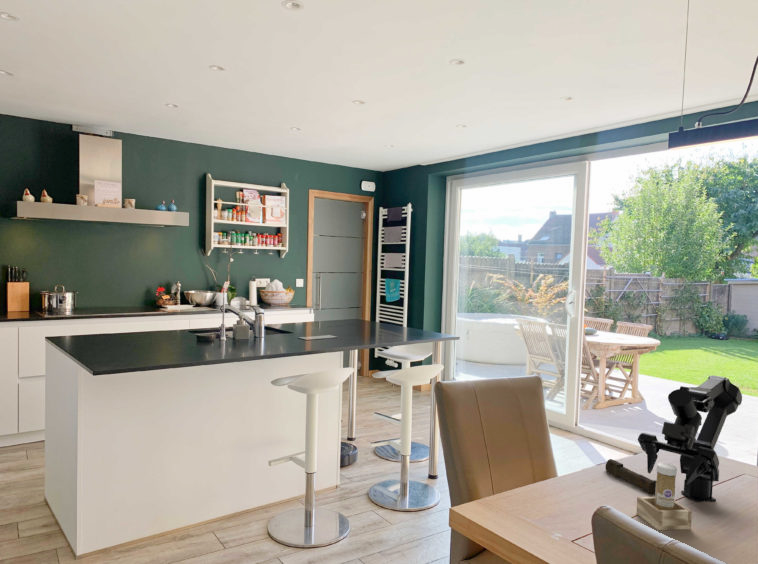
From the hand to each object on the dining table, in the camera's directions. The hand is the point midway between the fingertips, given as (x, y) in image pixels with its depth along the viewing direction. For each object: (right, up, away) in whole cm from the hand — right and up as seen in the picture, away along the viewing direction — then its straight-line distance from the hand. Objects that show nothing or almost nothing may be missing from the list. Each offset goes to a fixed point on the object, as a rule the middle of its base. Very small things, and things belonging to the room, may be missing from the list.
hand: (666, 478), depth 143 cm
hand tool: (+2, -11, +26) cm, 28 cm away
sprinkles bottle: (-1, -10, 0) cm, 10 cm away
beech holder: (-1, -11, 0) cm, 11 cm away
